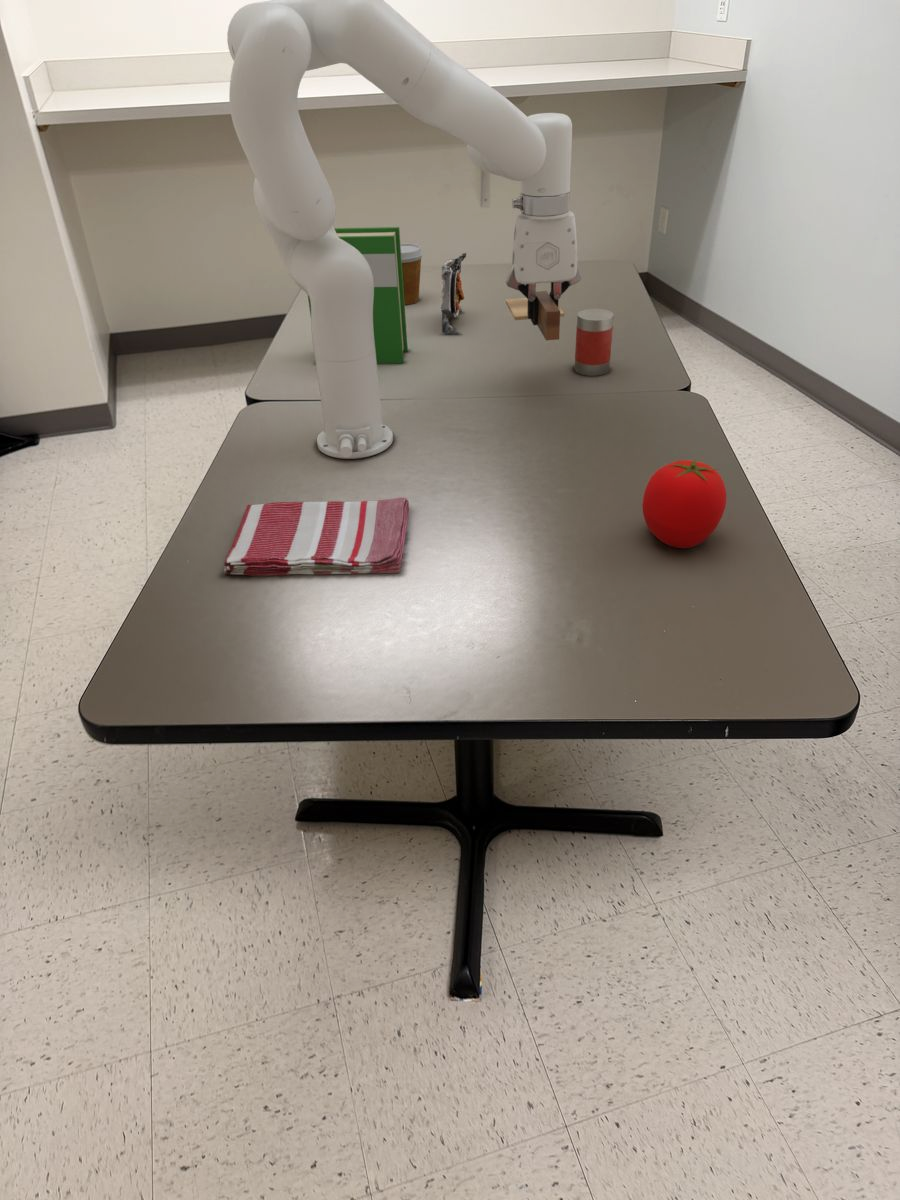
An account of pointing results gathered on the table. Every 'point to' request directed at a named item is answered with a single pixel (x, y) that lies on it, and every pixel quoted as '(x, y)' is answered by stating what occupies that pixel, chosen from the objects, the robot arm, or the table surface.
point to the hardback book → (383, 287)
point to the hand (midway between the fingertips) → (542, 321)
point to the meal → (451, 292)
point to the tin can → (593, 342)
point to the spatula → (539, 313)
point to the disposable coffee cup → (411, 271)
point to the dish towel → (320, 538)
